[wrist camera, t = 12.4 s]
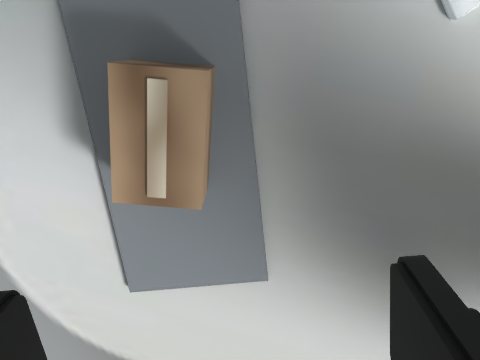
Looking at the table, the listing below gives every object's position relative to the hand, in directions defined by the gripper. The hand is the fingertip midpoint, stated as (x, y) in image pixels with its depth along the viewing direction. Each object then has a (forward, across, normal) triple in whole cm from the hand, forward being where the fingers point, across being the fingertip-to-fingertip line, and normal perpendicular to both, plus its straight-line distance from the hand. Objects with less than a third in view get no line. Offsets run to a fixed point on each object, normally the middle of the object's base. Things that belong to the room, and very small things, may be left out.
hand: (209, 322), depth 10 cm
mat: (+21, +5, -2) cm, 21 cm away
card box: (+20, +5, -2) cm, 21 cm away
